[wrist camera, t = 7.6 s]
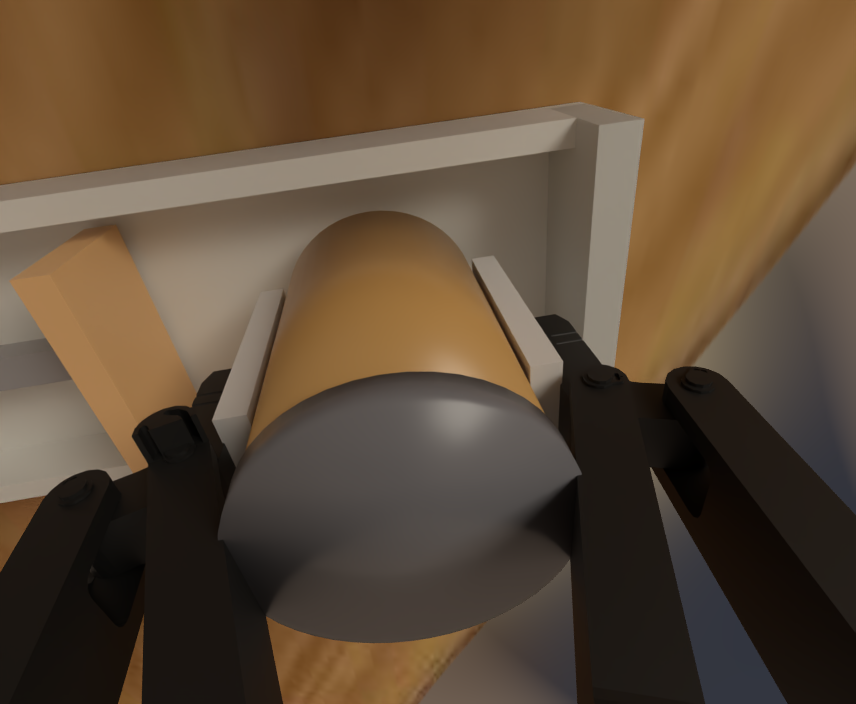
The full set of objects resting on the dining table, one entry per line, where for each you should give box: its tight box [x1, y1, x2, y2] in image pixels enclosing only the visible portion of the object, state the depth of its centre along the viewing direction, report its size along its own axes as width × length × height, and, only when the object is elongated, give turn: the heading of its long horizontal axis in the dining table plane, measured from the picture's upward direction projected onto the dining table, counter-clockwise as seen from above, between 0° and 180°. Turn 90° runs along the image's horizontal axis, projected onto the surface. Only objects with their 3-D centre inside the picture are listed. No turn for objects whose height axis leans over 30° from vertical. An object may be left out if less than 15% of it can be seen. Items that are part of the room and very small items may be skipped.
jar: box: [218, 210, 582, 643], centre depth 13 cm, size 7×7×10 cm
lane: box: [0, 102, 644, 503], centre depth 16 cm, size 11×40×6 cm, turn 97°
